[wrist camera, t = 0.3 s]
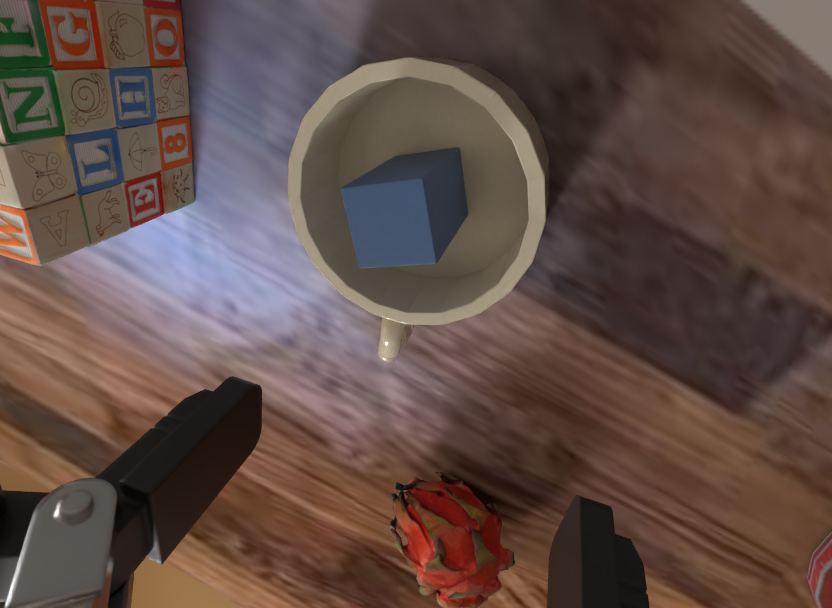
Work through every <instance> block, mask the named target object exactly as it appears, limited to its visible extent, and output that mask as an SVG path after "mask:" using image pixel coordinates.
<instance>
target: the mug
mask: <svg viewBox="0 0 832 608" xmlns="http://www.w3.org/2000/svg"><path fill="white" fill-rule="evenodd" d="M456 147H459V148H460V153H461V160H462V168H463V176H464V184H465V192H466V199H467V207H468V216H467V217H466V219H465V221H464V222H463V224H462V225H461V227H460V228H459V230H458V232H457V233H456V235H455V236H454V238H453V239H452V241H451V242H450V244H449V246H448V247H447V249H446V250H445V252H444V253H443V255H442V257H441V258H440V260H439V261H438V263H437V264H424V265H408V266H391V267H375V268H359V265H358V260H357V256H356V252H355V248H354V243H353V239H352V235H351V231H350V226H349V222H348V218H347V214H346V209H345V205H344V201H343V197H342V192H341V187H343V186H345V185H346V184H348V183H350V182H352V181H353V180H355V179H357V178H358V177H360V176H362V175H364V174H365V173H367V172H369V171H371V170H372V169H374V168H376V167H377V166H379V165H381V164H383V163H384V162H386V161H388V160H389V159H391V158H393V157H395V156H399V155H406V154H413V153H420V152H427V151H434V150H442V149H449V148H456ZM287 196H288V201H289V205H290V209H291V213H292V217H293V221H294V225H295V229H296V233H297V235H298V237H299V239H300V241H301V243H302V244H303V246H304V248H305V250H306V252H307V253H308V255H309V257H310V259H311V261H312V262H313V264H314V266H315V267H316V268H317V269H318V271H319V272H320V273H321V274H322V275H323V276H324V277H325V278H326V279H327V280H328V281H329V282H330V283H331V284H332V285H333V286H334V287H335V288H336V289H337V290H338V291H339V293H340V294H342V295H343V296H344V297H346V298H347V299H349V300H351V301H352V302H354V303H356V304H357V305H359V306H360V307H362V308H364V309H365V310H367V311H368V312H370V313H372V314H374V315H377V316H381V317H383V319H382V325H381V331H380V338H379V344H378V356H379V357H380V359H381V360H383V361H385V362H393V361H395V360H396V359H397V358H398V356H399V355H400V353H401V351H402V349H403V348H404V346H405V344H406V342H407V341H408V339H409V337H410V335H411V334H412V331H413V327H414V325H443V324H447V323H451V322H454V321H458V320H461V319H464V318H468V317H471V316H475V315H477V314H480V313H481V312H483V311H484V310H486V309H487V308H489V307H490V306H491V305H493V304H494V303H496V302H497V301H499V300H500V299H502V298H503V297H505V296H506V295H508V293H510V292H511V291H512V289H513V288H514V287H515V285H516V284H517V283H518V281H519V280H520V279H521V277H522V276H523V275H524V273H525V272H526V271H527V269H528V268H529V267H530V265H531V264H532V262H533V260H534V257H535V254H536V251H537V248H538V245H539V242H540V239H541V235H542V232H543V229H544V226H545V223H546V217H547V210H548V203H549V197H550V175H549V155H548V152H547V149H546V146H545V143H544V139H543V136H542V133H541V131H540V129H539V127H538V124H537V122H536V119H535V118H534V116H533V115H532V114H531V112H530V111H529V109H528V108H527V106H526V104H525V103H524V102H523V101H522V100H521V99H520V98H519V96H518V95H517V94H516V93H515V92H514V91H513V90H512V89H511V87H509V86H508V85H507V84H505V83H504V82H503V81H501V80H500V79H498V78H497V77H495V76H494V75H492V74H491V73H489V72H487V71H485V70H483V69H481V68H479V67H478V66H476V65H474V64H470V63H465V62H461V61H457V60H450V59H445V58H440V57H407V58H401V59H395V60H389V61H383V62H377V63H371V64H366V65H363V66H361V67H360V68H358V69H356V70H355V71H353V72H351V73H350V74H348V75H346V76H345V77H343V78H341V79H340V80H338V81H336V82H335V83H333V84H331V85H330V86H328V87H327V88H326V90H325V91H324V92H323V93H322V95H321V96H320V97H319V98H318V100H317V101H316V102H315V103H314V105H313V106H312V107H311V108H310V110H309V111H308V112H307V113H306V115H305V116H304V117H303V120H302V122H301V124H300V127H299V130H298V133H297V136H296V139H295V141H294V144H293V147H292V150H291V153H290V156H289V164H288V194H287Z"/></svg>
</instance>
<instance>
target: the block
mask: <svg viewBox="0 0 832 608" xmlns="http://www.w3.org/2000/svg"><path fill="white" fill-rule="evenodd" d="M341 192H342V197H343V201H344V205H345V209H346V214H347V218H348V222H349V226H350V231H351V235H352V239H353V243H354V248H355V252H356V256H357V260H358V265H359V268H375V267H391V266H408V265H424V264H437V263H438V261H439V260H440V258H441V257H442V255H443V253H444V252H445V250H446V249H447V247H448V246H449V244H450V242H451V241H452V239H453V238H454V236H455V235H456V233H457V232H458V230H459V228H460V227H461V225H462V224H463V222H464V221H465V219H466V217H467V216H468V207H467V199H466V192H465V184H464V176H463V168H462V160H461V153H460V148H459V147H456V148H449V149H442V150H434V151H427V152H420V153H413V154H406V155H399V156H395V157H393V158H391V159H389V160H388V161H386V162H384V163H383V164H381V165H379V166H377V167H376V168H374V169H372V170H371V171H369V172H367V173H365V174H364V175H362V176H360V177H358V178H357V179H355V180H353V181H352V182H350V183H348V184H346V185H345V186H343V187H341Z"/></svg>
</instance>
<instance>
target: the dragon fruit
mask: <svg viewBox="0 0 832 608" xmlns="http://www.w3.org/2000/svg"><path fill="white" fill-rule="evenodd" d="M435 473H436V474H438V475H439V476H440V478H441V479H442V481H437V482H427V481H424V480H420V479H418V478H417V477H414V478H412V479H411V480H410V481H409V483H408V484H407V485H402V484H400V483H398V482H397V483H396V489H399V490H401V491H400V492H399V493H398V494H397V495H396V494H392V496H393V510H394V513H395V518H394V520H392V521H391V523H389V526H390V528H391V531H392V533H393V534H394V535H395V536H396V537H397V539H396V540H395V544H396V547H397V548H398V549H399V551H400V552H401V553H402V554H403V555H404V556H405V557H406V558H407V564H408V565H409V566H411V568H412V569H414V570H416V571H417V581H418V583H419V585H418V589H419V591H420V593H421V594H423V595H424V596H427V595H430V594H432V593H433V592H436V593H437V601H438V603H439V604H440V605H441V606H442V607H443V608H460V607H462V608H477V607H478V606H479V605H481V604H483V603H485V602H486V601H487V599H488V597H489V596H491V595H493V594H494V593H496V592H497V591H499V590H500V589H501V587H502V586H501V582H500V581H499V580H498V577H497V575H498V574H499V572H500V571H504V570H508V568H509V567H511V566H513V565H514V564H515V560H514V553H513V552H512V551H510V550H508V549H504V548H503V547H502V546H501V544H500V531H501V526H502V522H501V516H500V513H499V509H498V507H497V506H496V504H495V503H489V504H488V505H487V506H486V508H485V506H484V505H483V503H482V502H481V501H480V500H479V499H477V498H476V497H475V496H474V495H473V492H472V491H471V489H470V488H469V487H467V486H466V485H464V484H463V481H462V480H460V479H457V478H455V477H453V476H451V475H448V474H445V473H442V472H435ZM402 490H404V491H402ZM404 494H405V496H406V497H407V499H406V501H405V497H404ZM396 527H398V528H399V529H400V530H401V531H402V532H403V534H404V535H405V536H406V537H407V538H408V540H409V542H408V545H405V546H403V545H402V540H401V537H400V536H399V534H398V533H397V532H396V531H395V530H396Z"/></svg>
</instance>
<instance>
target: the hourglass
mask: <svg viewBox="0 0 832 608" xmlns="http://www.w3.org/2000/svg"><path fill="white" fill-rule="evenodd" d="M807 580H808V583H809V586H810V589H811V591H812V594H813V597H814V600H815V603H816V604H817V607H818V608H832V531H831V532H830V534H829V535H828V536H827V537H826V538H825V539H824V541H823V542H822V543H821V544H820V545H819V546H818V548H817V549H816V550H815V551H814V552H813V554H812V557H811V562H810V566H809V571H808V575H807Z"/></svg>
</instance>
